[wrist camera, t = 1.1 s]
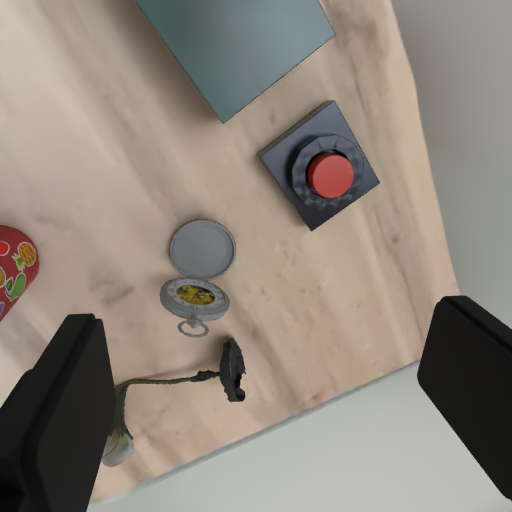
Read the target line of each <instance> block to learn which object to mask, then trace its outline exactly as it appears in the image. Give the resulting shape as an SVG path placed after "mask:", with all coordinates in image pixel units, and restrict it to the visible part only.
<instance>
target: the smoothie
mask: <svg viewBox="0 0 512 512" xmlns="http://www.w3.org/2000/svg"><path fill="white" fill-rule="evenodd" d="M38 269H39V260H38V253H37V249H36V247H35V245H34V244H33V242H32V241H31V240H30V239H29V238H28V237H27V236H26V235H25V234H24V233H22V232H20V231H18V230H16V229H14V228H10V227H7V226H1V225H0V322H1V320H2V319H3V318H4V317H5V315H6V314H7V313H8V312H9V310H10V309H11V308H12V306H13V305H14V304H15V303H16V301H17V300H18V299H19V298H20V296H21V295H22V294H23V293H24V291H25V290H26V289H27V288H28V286H29V285H30V284H31V282H32V281H33V280H34V278H35V277H36V275H37V273H38Z"/></svg>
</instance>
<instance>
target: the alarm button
mask: <svg viewBox="0 0 512 512" xmlns="http://www.w3.org/2000/svg"><path fill="white" fill-rule="evenodd" d="M353 176H354V172H353V167H352V165H351V163H350V162H349V161H348V160H347V159H346V158H344V157H342V156H340V155H337V154H335V153H324V154H321V155H319V156H318V157H316V158H315V159H314V160H313V161H312V163H311V164H310V166H309V169H308V181H309V184H310V186H311V187H312V188H313V189H314V190H315V191H316V192H317V193H319V194H320V195H322V196H324V197H327V198H335V197H338V196H340V195H342V194H344V193H345V192H346V191H347V190H348V189H349V187H350V186H351V184H352V181H353Z"/></svg>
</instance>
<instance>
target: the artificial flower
mask: <svg viewBox="0 0 512 512" xmlns="http://www.w3.org/2000/svg"><path fill="white" fill-rule="evenodd" d="M228 341H229V342H226V343H224V344H223V345H224V349H223V355H222V358H221V362H220V364H219V365H220V372H216V373H215V372H213V371H209V370H207V371H204V372H202V371H199V372H198V374H197V375H196V376H193V377H190V378H188V377H187V378H179V379H172V380H149V379H138V380H136V379H133V380H129V381H128V382H126V383H124V384H123V385H122V386H121V387H119V388H118V389H117V390H115V393H116V410H115V414H114V418H113V421H112V425H111V428H110V431H109V435H108V438H107V442H106V445H105V449H104V452H103V456H102V462H103V464H104V465H106V466H108V467H114V466H117V465H119V464H120V463H122V462H123V461H124V460H125V459H126V458H127V457H129V456H131V455H133V454H134V448H133V444H132V439H133V437H132V436H131V434H130V433H129V431H128V429H127V427H126V425H125V421H124V406H125V404H124V402H125V397H126V391H127V388H128V386H129V385H130V384H177V383H180V382H186V381H191V382H198V381H205V380H207V379H210V378H212V377H213V378H215V377H216V376H220V381H221V383H222V384H223V386H224V387H225V389H224V392H225V393H226V394H227V395H228V398H227V399H228V400H229V401H230V402H237V401H238V402H241V401H243V400H244V399H245V392H244V391H243V390H242V389H241V388H240V379H241V378H242V376H241V375H242V374H243V372H244V373H245V374H246V372H245V366H244V361H243V356H242V355H241V349H240V347H239V346H238V345H237V343H236V342H235V341H234V339H233V338H229V340H228Z"/></svg>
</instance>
